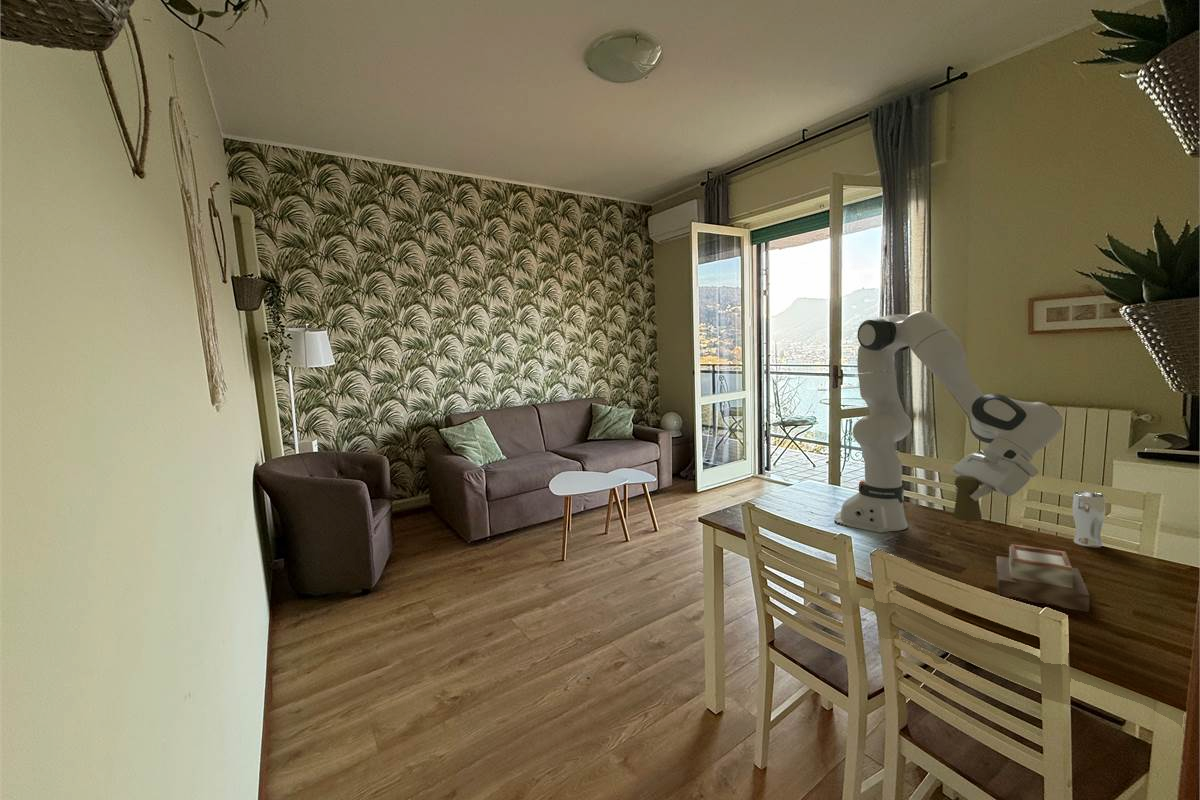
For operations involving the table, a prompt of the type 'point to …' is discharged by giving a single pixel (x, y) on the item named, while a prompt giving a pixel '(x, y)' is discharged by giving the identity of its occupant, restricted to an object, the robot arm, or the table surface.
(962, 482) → the cork
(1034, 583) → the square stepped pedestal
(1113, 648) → the table surface
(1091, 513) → the beer glass
